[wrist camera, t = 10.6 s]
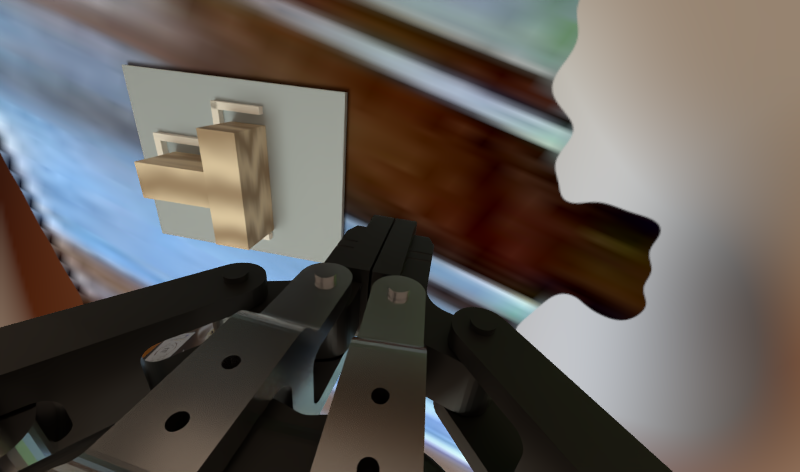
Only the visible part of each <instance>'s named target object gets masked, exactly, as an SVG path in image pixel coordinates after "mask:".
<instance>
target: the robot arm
mask: <svg viewBox="0 0 800 472" xmlns="http://www.w3.org/2000/svg"><path fill="white" fill-rule="evenodd" d="M416 226H417V222H415V221H409V220H403V219H397V218H396V220H395V218H391V217H385V216H379V215H374V216H373V218H372V219H371V221H370V223H369V224H368V226H367V227H363V226H356V227H354V228H352V229H350V230H348V231H347V232H346V233H345V235H344V236H343V237H342V240H340V241H339V243H338V245H337V246H336V247H335V248H334V250H333V251H332V252H331V254H330V255H329V257H328V258H327V259H326V261H325V262H324V263H318V264H314V265H311V266H308V267H306V268H305V269H303V270H302V271H301V272H300V273H299V274H298V275H297V276H296V277H295V278H294V279H293V280H292V281H267V277H266V272H265V270H264V269H263V268H262V267H260V266H258V265H256V264H252V263H234V264H229V265H225V266H221V267H218V268H214V269H210V270H207V271H203V272H200V273H196V274H192V275H189V276H185V277H182V278H178V279H174V280H171V281H167V282H163V283H160V284H156V285H153V286H149V287H145V288H142V289H138V290H134V291H131V292H127V293H124V294H120V295H116V296H113V297H109V298H106V299H102V300H98V301H95V302H91V303H87V304H84V305H80V306H77V307H73V308H70V309H66V310H62V311H58V312H55V313H52V314H48V315H44V316H40V317H37V318H33V319H30V320H26V321H23V322H19V323H15V324H11V325H8V326H4V327H1V328H0V472H445V471H444V470H443V469H442V467H440V466H439V465H438V464H437V463H436V462H435V461H434V460H433V459H432V458H431V457H429V456H428V455H426V454H425V453H424V433H425V399H426V397H428V398H429V399H431V400H433V404H434V409H435V412H436V414H437V415H438V417H439V419H440V420H441V422H442V423H443V425H444V426H445V428H446V429H447V431H448V432H449V434H450V436H451V437H452V439H453V440H454V442H455V443H456V445H457V446H458V448H459V450H460V451H461V453H462V454H463V456H464V457H465V459H466V460H467V462H468V463H469V465H470V467H471V468H472V470H473V471H474V472H672V471H671V470H670V469H669V468H668V467H667V466H666V465H665V464H663V463H662V462H661V461H660V460H659V459H658V458H657V457H656V456H655V455H654V454H652V453H651V452H650V451H649V450H648V449H647V448H646V447H645V446H644V445H643V444H641V443H640V442H639V441H638V440H637V439H636V438H635V437H634V436H633V435H631V434H630V433H629V432H628V431H627V430H626V429H625V428H624V427H623V426H622V425H620V424H619V423H618V422H617V421H616V420H615V419H614V418H613V417H612V416H610V415H609V414H608V413H607V412H606V411H605V410H604V409H603V408H602V407H600V406H599V405H598V404H597V403H596V402H595V401H594V400H593V399H592V398H591V397H589V396H588V395H587V394H586V393H585V392H584V391H583V390H581V389H580V388H579V387H578V386H577V385H576V384H575V383H574V382H573V381H572V380H570V379H569V378H568V377H567V376H566V375H565V374H564V373H563V372H562V371H561V370H559V369H558V368H557V367H556V366H555V365H554V364H553V363H552V362H550V360H548V359H547V358H546V357H545V356H544V355H543V354H542V353H541V352H539V351H538V350H537V349H536V348H535V347H534V346H533V345H532V344H531V343H530V342H528V341H527V340H526V339H525V338H524V337H523V336H522V335H521V334H520V333H518V332H517V331H516V330H515V329H514V328H513V327H512V326H511V325H510V324H509V323H507V322H506V321H505V320H504V319H503V318H502V317H500V316H499V315H497V314H496V313H494V312H492V311H489V310H486V309H483V308H477V307H468V308H463V309H460V310H459V311H457V312H456V313H455V314H454V315H452V314H450V313H448V312H446V311H444V310H442V309H440V308H438V307H437V306H436V305H435V304H433V303H432V301H431V300H430V299H429V297H428V295H427V284H428V278H429V272H430V266H431V260H432V254H433V248H434V245H433V244H432V242H431V240H430V239H429V238H428V237H422V236H416V235H415V233H416ZM211 323H213V328H214V333H213V334H212V335H211V336H210V337H209V338H208V339H206V340H205V341H204V342H203V343H202V344H201V345H198V346H196V347H193V348H191V349H188V350H186V351H183V352H181V353H178V354H176V355H173V356H171V357H168V358H166V359H163V360H160V361H157V362H149V361H146V360H144V359H143V358H142V355H143V353H144V352H145V351H146V350H147V349H148V348H150V347H151V346H153V345H155V344H157V343H160V342H162V341H165V340H168V339H171V338H173V337H176V336H179V335H181V334H184V333H187V332H189V331H192V330H195V329H197V328H200V327H203V326H206V325H208V324H211ZM354 336H357V337H354ZM340 373H341V374H340ZM339 375H340V377H339ZM338 377H339V381H338V384H337V387H336V390H335V393H334V397H333V400H332V403H331V406H330V410H329V413H328V415H320V412H321V410H322V408H323V406H324V404H325V403H326V401H327V399H328V397H329V395H330V393H331V391H332V389H333V387H334V385H335V383H336V381H337V379H338Z"/></svg>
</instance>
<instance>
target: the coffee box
mask: <svg viewBox="0 0 800 472" xmlns="http://www.w3.org/2000/svg"><path fill="white" fill-rule="evenodd" d="M213 333H214V328H213V323H211V324H208V325H206V326H203V327H200V328H197V329H195V330H192V331H189V332H187V333H184V334H181V335H179V336H176V337H173V338H171V339H168V340H165V341H162V342H161V343H160V344H159V345H158V346H156V347H155V348H154V349H153V350H152V351H151V352H150V353H149V354H147V355H146V356H145V357H144V358H143V359H144V360H146V361H149V362H157V361H160V360H163V359H166V358H168V357H171V356H173V355H176V354H178V353H181V352H183V351H186V350H188V349H191V348H193V347H196V346H198V345H201V344H202V343H203V342H204V341H205V340H206V339H208V338H209V337H210V336H211V335H212V334H213Z"/></svg>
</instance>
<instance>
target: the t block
mask: <svg viewBox="0 0 800 472" xmlns="http://www.w3.org/2000/svg"><path fill="white" fill-rule="evenodd" d="M196 131H197V137H198V143H199V148H200V154H201V155H197V154H190V153H183V152H176V151H175V152H171V153H167V154H163V155H159V156H155V157H151V158H147V159H143V160H139V161H136V162H135V166H136V170H137V174H138V177H139V181H140V185H141V189H142V192H143V196H144V198H150V199H156V200H162V201H168V202H174V203H180V204H186V205H193V206H199V207H205V208H210V212H211V217H212V223H213V229H214V234H215V240H216V244H218V245H224V246H230V247H235V248H241V249H247V250H249V249H250V248H252V247H253V246H254V245H255V244H257V243H258V242H259V241H260V240H262V239H263V238H264V237H265V236H267V235H268V234H269V233H271V232H272V231H273V230H274V223H273V211H272V199H271V187H270V175H269V163H268V151H267V139H266V127H265V126H264V125H256V124H249V123H241V122H233V121H231V122H225V123H220V124H215V125H209V126H204V127H198V128H196Z"/></svg>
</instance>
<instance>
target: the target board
mask: <svg viewBox="0 0 800 472" xmlns="http://www.w3.org/2000/svg"><path fill="white" fill-rule="evenodd" d="M122 68H123V72H124V77H125V81H126V85H127V89H128V93H129V97H130V101H131V105H132V109H133V114H134V118H135V122H136V126H137V130H138V134H139V138H140V142H141V146H142V151H143V155H144V159H147V158H151V157H155V156H159V155H163V154H167V153H171V152H175V151H176V152H183V153H190V154H197V155H201V154H200V148H199V143H198V137H197V131H196V128H198V127H204V126H209V125H215V124H220V123H225V122H231V121H233V122H241V123H249V124H256V125H264V126H265V127H266V139H267V151H268V163H269V175H270V187H271V199H272V211H273V223H274V230H273V231H272V232H271V233H269V234H268V235H267V236H265V237H264V238H263V239H262V240H260V241H259V242H258V243H257V244H255V245H254V246H253V247H252V248H250V249H251V250H256V251H262V252H267V253H272V254H278V255H283V256H289V257H294V258H300V259H305V260H310V261H316V262H321V263H324V262H325V261H326V259H327V258H328V257H329V255H330V254H331V252H332V251H333V250H334V248H335V247H336V246H337V245H338V243H339V241H340V240H342V237H343V227H344V193H345V160H346V126H347V93H348V92H341V91H333V90H325V89H317V88H309V87H301V86H293V85H285V84H277V83H269V82H261V81H253V80H245V79H237V78H229V77H221V76H213V75H205V74H197V73H189V72H181V71H173V70H165V69H157V68H149V67H141V66H133V65H122ZM154 200H155V204H156V208H157V212H158V216H159V220H160V224H161V229H162V233H164V234H169V235H175V236H180V237H186V238H191V239H197V240H202V241H207V242H213V243H216V240H215V234H214V229H213V223H212V217H211V212H210V208H205V207H199V206H193V205H186V204H180V203H174V202H168V201H162V200H156V199H154Z"/></svg>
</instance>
